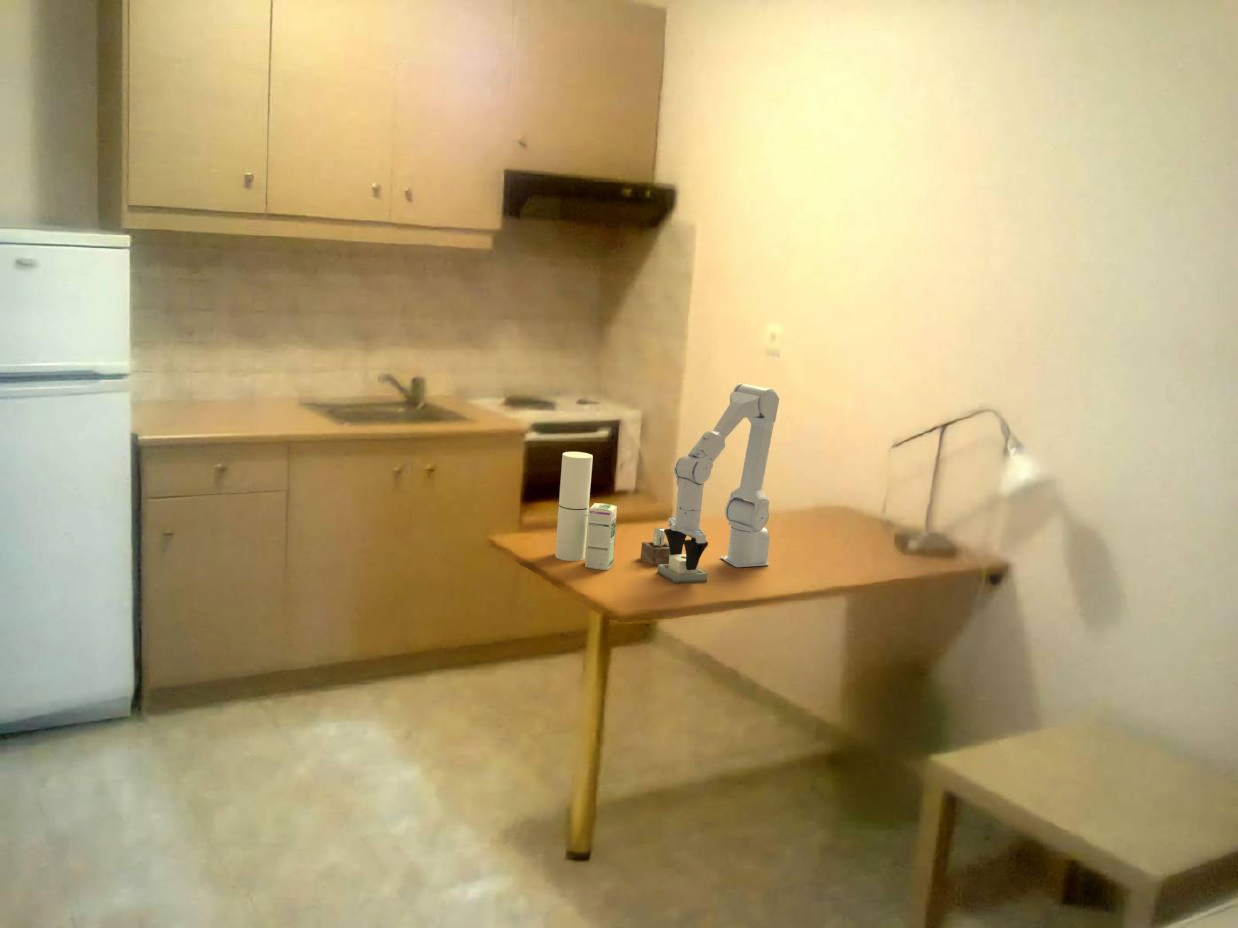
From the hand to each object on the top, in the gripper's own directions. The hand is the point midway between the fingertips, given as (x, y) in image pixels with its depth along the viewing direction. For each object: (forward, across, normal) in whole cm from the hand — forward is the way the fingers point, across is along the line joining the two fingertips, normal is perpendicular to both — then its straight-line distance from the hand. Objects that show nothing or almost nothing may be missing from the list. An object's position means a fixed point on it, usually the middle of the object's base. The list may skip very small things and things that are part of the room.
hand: (683, 564), depth 249 cm
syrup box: (+3, -11, -16) cm, 20 cm away
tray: (+3, 0, 0) cm, 3 cm away
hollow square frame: (+3, -12, 0) cm, 13 cm away
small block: (+2, 0, 0) cm, 2 cm away
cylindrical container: (+3, -19, -20) cm, 28 cm away
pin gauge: (+3, -12, 0) cm, 13 cm away
